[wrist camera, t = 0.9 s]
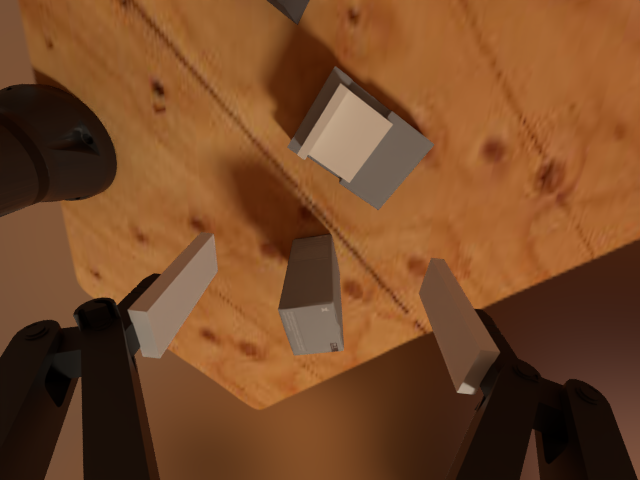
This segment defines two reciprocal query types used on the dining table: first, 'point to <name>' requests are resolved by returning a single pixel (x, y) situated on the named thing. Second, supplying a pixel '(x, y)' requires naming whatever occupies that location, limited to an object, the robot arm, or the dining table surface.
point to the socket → (387, 158)
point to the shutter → (345, 134)
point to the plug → (291, 8)
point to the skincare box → (312, 297)
